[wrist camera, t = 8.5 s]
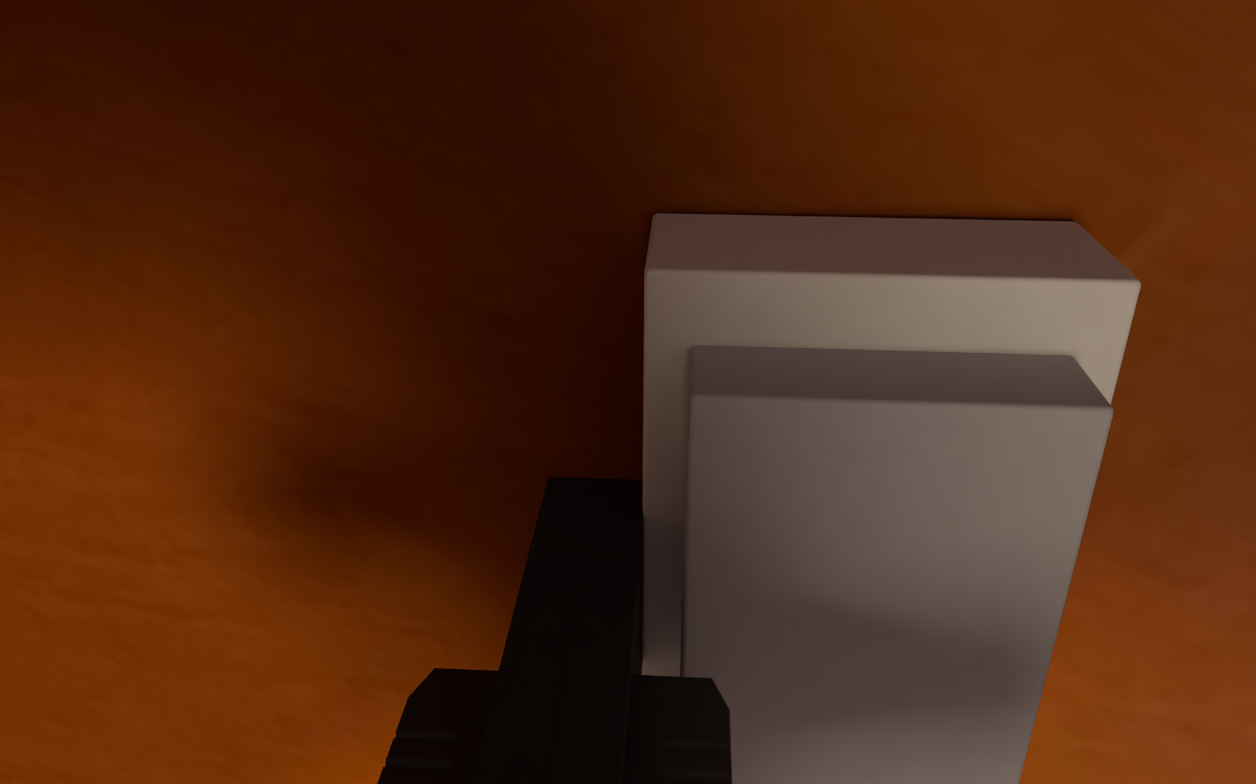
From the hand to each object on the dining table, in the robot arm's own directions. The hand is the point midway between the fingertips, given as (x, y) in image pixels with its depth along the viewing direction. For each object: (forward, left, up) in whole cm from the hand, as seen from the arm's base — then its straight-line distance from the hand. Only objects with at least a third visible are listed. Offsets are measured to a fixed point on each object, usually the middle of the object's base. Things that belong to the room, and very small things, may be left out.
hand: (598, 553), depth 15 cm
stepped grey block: (0, +4, -2) cm, 4 cm away
